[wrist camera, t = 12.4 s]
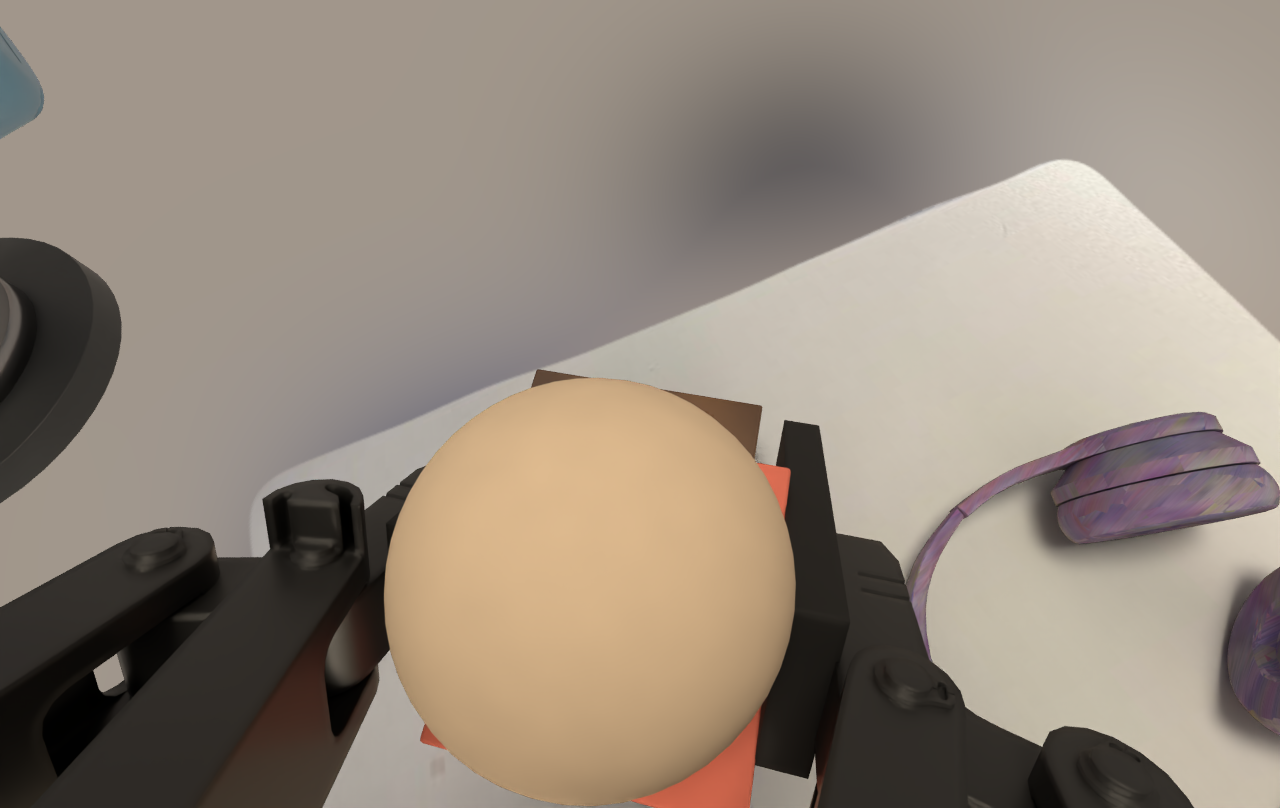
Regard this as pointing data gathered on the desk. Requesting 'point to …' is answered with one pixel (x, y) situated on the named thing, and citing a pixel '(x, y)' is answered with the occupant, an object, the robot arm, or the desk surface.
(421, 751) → the desk surface
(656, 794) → the toy
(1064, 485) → the headphones
